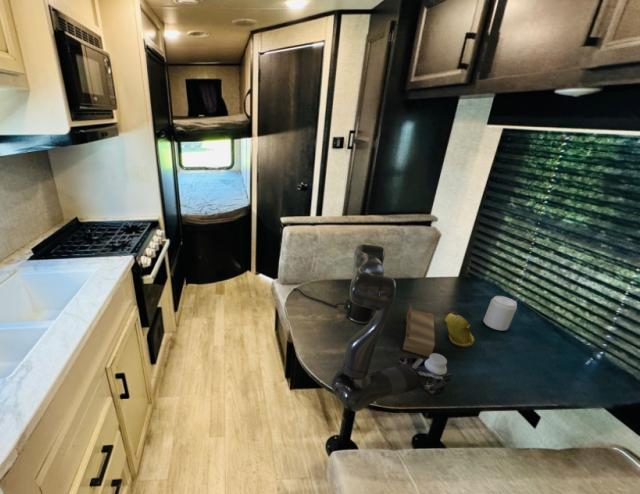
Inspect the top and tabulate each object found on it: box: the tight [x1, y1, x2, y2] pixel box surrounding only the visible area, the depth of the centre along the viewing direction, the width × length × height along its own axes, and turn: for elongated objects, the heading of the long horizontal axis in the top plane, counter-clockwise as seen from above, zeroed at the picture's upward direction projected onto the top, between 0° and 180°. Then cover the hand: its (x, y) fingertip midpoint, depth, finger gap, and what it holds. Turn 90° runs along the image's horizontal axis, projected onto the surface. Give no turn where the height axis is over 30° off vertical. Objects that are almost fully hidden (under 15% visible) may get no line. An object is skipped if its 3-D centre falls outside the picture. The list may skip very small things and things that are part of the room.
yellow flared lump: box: [444, 311, 476, 348], centre depth 115 cm, size 12×8×15 cm
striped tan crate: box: [402, 304, 436, 358], centre depth 120 cm, size 20×9×8 cm, turn 152°
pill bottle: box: [422, 352, 448, 385], centre depth 98 cm, size 6×6×11 cm
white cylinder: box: [483, 295, 518, 332], centre depth 125 cm, size 8×8×12 cm
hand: (440, 368), depth 99 cm, fingers closed on pill bottle, 6 cm apart
